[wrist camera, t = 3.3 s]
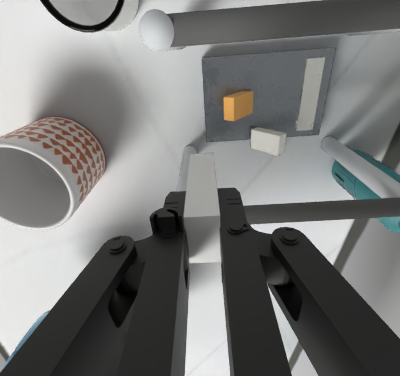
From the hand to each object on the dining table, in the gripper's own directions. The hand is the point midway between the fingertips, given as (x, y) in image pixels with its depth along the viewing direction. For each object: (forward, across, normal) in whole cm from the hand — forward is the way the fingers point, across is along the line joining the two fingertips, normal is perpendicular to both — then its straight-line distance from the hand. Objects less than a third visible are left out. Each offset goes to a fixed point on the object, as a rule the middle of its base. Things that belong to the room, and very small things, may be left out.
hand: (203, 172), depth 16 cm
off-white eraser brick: (+23, +7, -6) cm, 25 cm away
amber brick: (+23, +7, 0) cm, 24 cm away
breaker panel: (+25, +9, 0) cm, 27 cm away
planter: (+25, -25, -8) cm, 36 cm away
